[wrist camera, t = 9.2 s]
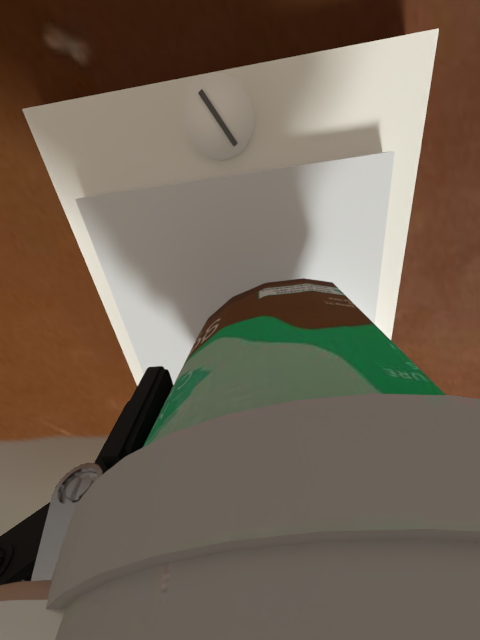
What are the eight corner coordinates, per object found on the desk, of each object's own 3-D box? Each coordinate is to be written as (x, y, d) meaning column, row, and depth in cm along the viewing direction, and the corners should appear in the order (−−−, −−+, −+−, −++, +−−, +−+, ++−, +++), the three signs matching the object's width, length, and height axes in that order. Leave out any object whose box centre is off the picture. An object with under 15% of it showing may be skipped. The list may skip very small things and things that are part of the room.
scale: (406, 51, 12) (460, 12, 9) (367, 388, 21) (386, 428, 18) (57, 116, 14) (-2, 104, 10) (162, 400, 23) (148, 438, 20)
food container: (185, 206, 10) (-280, 469, 1) (347, 245, 10) (802, 652, 2) (158, 431, 16) (39, 749, 7) (262, 451, 16) (269, 778, 8)
